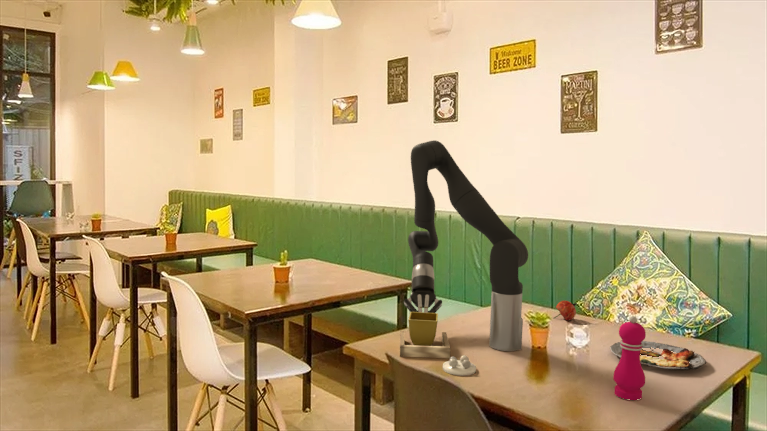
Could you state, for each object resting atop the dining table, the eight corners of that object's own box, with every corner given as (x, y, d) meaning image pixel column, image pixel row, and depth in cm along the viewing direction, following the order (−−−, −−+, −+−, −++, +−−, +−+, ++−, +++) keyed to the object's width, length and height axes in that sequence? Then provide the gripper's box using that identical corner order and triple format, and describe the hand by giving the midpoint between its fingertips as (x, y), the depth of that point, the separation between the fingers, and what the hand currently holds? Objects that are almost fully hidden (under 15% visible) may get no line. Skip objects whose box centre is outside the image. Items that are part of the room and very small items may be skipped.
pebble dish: (473, 364, 160) (474, 352, 160) (478, 376, 151) (478, 363, 151) (441, 363, 161) (442, 351, 160) (443, 374, 152) (444, 362, 151)
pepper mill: (606, 390, 144) (611, 312, 142) (634, 389, 145) (639, 312, 143) (621, 402, 137) (626, 320, 135) (650, 401, 138) (655, 320, 136)
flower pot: (436, 350, 172) (437, 320, 171) (407, 348, 173) (408, 319, 172) (437, 341, 180) (438, 313, 179) (409, 339, 181) (410, 311, 180)
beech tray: (445, 341, 180) (446, 332, 180) (449, 358, 165) (450, 347, 165) (400, 340, 180) (400, 330, 180) (399, 356, 165) (400, 346, 165)
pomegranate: (557, 327, 206) (581, 313, 203) (546, 310, 208) (569, 296, 205) (560, 324, 213) (584, 311, 210) (549, 307, 215) (572, 294, 212)
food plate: (714, 360, 168) (715, 349, 168) (691, 382, 151) (692, 369, 151) (627, 343, 185) (628, 332, 185) (598, 360, 168) (598, 349, 168)
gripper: (403, 273, 189) (402, 320, 178) (443, 274, 188) (444, 321, 178) (403, 285, 195) (401, 331, 184) (442, 287, 194) (443, 333, 183)
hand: (422, 326), depth 181 cm, fingers closed
